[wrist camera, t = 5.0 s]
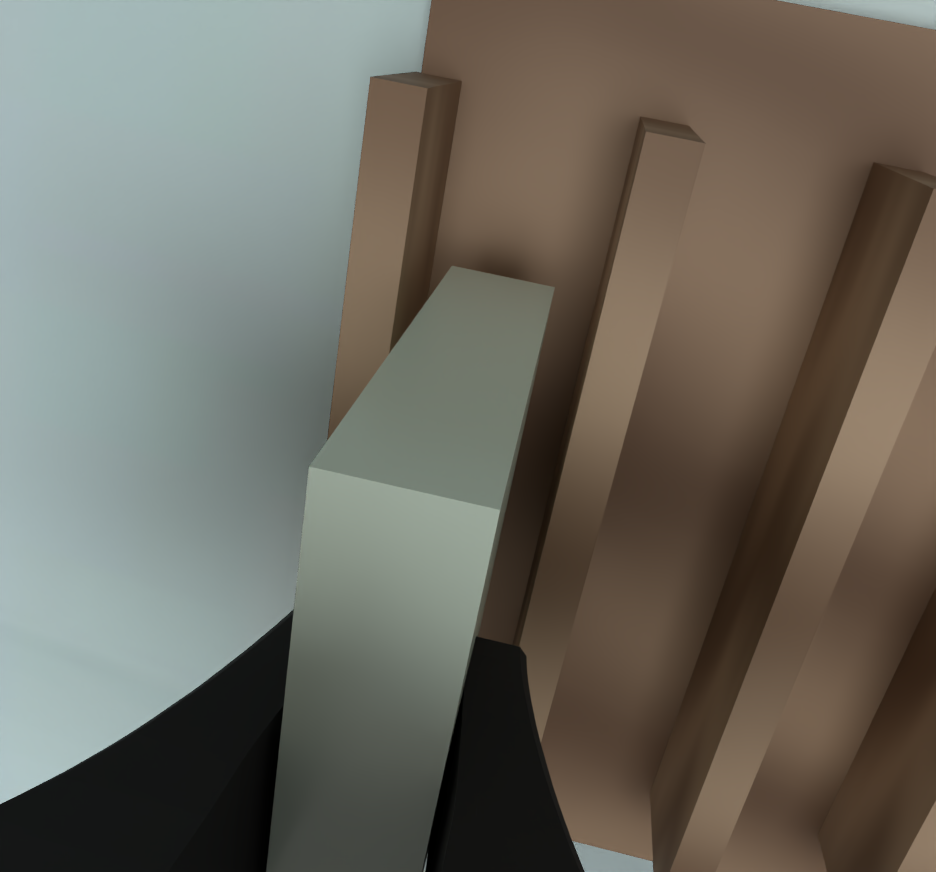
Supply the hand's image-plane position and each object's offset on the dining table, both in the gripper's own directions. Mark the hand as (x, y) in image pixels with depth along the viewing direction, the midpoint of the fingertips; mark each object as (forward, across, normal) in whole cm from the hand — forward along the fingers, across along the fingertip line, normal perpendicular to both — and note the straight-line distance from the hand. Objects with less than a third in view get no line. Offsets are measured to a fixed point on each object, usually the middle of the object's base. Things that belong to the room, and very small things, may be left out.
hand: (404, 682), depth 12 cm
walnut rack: (+8, -4, 0) cm, 8 cm away
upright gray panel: (+4, 0, 0) cm, 4 cm away
